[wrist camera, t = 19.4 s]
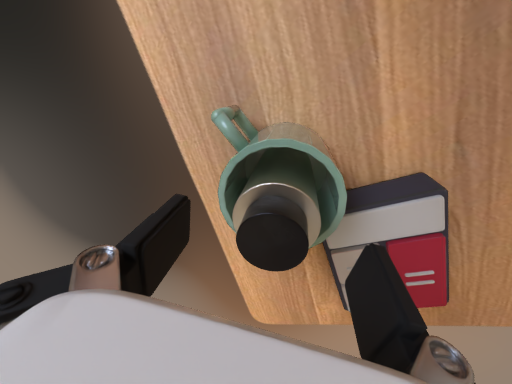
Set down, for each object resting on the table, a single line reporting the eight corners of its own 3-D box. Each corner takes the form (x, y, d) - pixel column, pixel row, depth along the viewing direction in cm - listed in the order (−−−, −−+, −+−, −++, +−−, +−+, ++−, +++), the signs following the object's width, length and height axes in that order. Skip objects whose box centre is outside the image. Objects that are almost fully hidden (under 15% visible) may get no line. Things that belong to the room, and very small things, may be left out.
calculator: (346, 317, 26) (314, 221, 20) (339, 287, 30) (311, 198, 24) (454, 310, 22) (455, 192, 16) (431, 277, 26) (425, 170, 20)
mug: (348, 177, 22) (372, 219, 15) (276, 219, 26) (267, 267, 19) (274, 69, 19) (260, 57, 12) (205, 134, 23) (163, 155, 16)
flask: (248, 176, 23) (206, 249, 13) (276, 132, 21) (253, 178, 10) (291, 202, 24) (285, 295, 13) (323, 163, 21) (348, 238, 10)
